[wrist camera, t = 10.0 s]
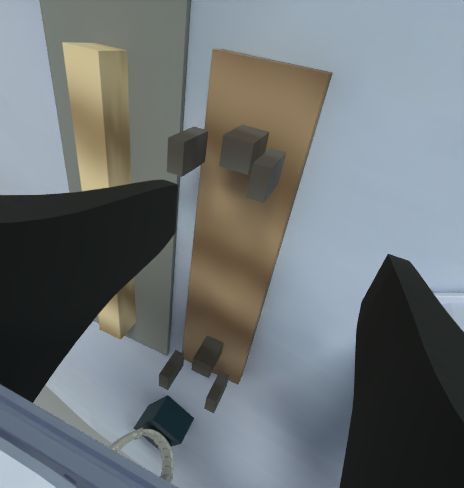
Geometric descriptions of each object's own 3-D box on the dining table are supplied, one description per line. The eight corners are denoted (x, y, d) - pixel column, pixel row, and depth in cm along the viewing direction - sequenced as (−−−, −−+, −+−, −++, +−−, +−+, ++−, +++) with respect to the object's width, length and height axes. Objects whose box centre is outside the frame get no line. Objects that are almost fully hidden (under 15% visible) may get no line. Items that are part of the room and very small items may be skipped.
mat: (169, 352, 34) (167, 355, 33) (92, 316, 36) (89, 318, 35) (190, -2, 16) (187, -3, 16) (40, -28, 19) (34, -30, 18)
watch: (183, 436, 42) (131, 536, 33) (138, 396, 41) (73, 489, 33) (205, 428, 39) (155, 538, 30) (157, 385, 38) (90, 485, 29)
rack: (242, 374, 30) (215, 436, 26) (187, 348, 32) (152, 403, 27) (332, 72, 16) (309, 83, 11) (222, 49, 17) (157, 49, 12)
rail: (136, 322, 32) (120, 339, 30) (116, 313, 33) (100, 329, 31) (127, 50, 19) (98, 50, 17) (93, 42, 19) (62, 42, 17)
